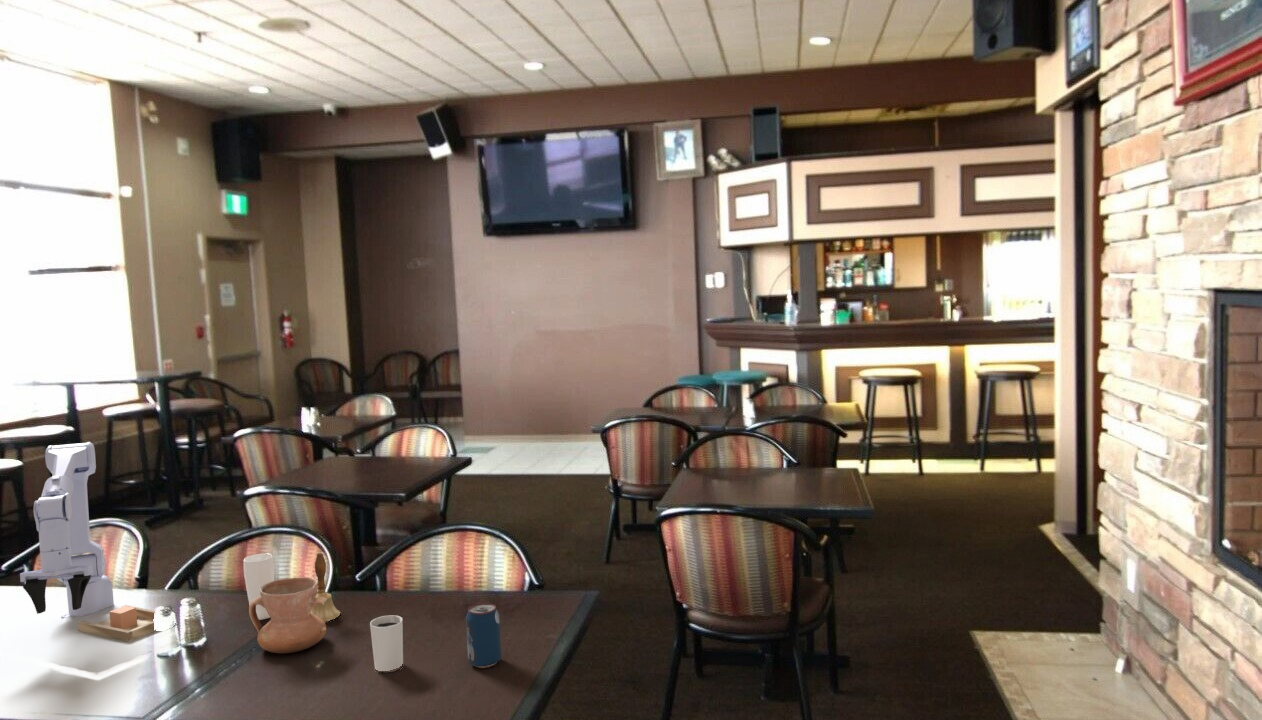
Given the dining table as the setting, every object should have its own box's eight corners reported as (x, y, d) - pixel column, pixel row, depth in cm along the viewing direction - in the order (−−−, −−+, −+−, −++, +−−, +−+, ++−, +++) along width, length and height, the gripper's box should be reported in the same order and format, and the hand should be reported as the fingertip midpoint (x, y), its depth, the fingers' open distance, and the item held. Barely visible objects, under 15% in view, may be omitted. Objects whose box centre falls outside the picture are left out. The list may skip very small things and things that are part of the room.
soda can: (507, 658, 188) (504, 603, 187) (491, 671, 181) (488, 615, 180) (478, 654, 190) (475, 600, 189) (462, 668, 184) (459, 612, 183)
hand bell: (310, 612, 219) (306, 549, 218) (344, 610, 220) (340, 547, 219) (301, 625, 211) (296, 560, 210) (336, 622, 212) (332, 558, 210)
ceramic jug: (343, 633, 205) (339, 574, 203) (313, 660, 190) (309, 596, 189) (270, 633, 207) (265, 574, 206) (235, 659, 192) (230, 595, 191)
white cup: (376, 677, 181) (373, 629, 180) (369, 665, 187) (366, 619, 186) (408, 669, 184) (405, 623, 183) (401, 658, 190) (398, 613, 189)
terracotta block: (126, 621, 214) (125, 605, 214) (137, 623, 212) (136, 607, 212) (110, 627, 210) (109, 611, 210) (121, 630, 209) (120, 613, 208)
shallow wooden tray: (126, 617, 220) (125, 605, 220) (175, 627, 212) (174, 614, 212) (79, 635, 209) (78, 622, 209) (129, 646, 202) (128, 632, 201)
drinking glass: (266, 622, 213) (262, 562, 212) (241, 621, 215) (237, 561, 213) (282, 612, 220) (278, 553, 219) (258, 611, 221) (254, 552, 220)
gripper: (10, 556, 192) (14, 618, 192) (79, 549, 194) (83, 611, 193) (29, 550, 200) (33, 610, 199) (96, 544, 201) (100, 603, 200)
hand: (59, 610), depth 197 cm, fingers open, 7 cm apart
